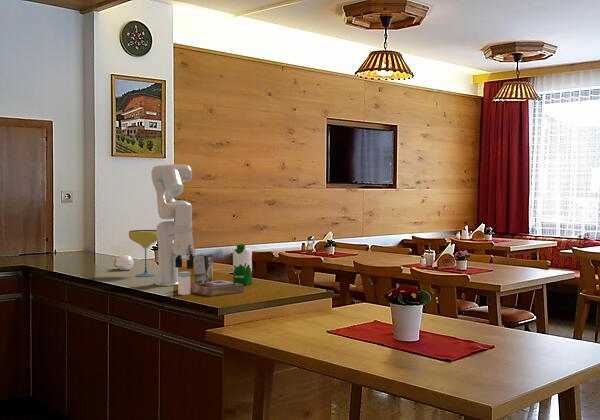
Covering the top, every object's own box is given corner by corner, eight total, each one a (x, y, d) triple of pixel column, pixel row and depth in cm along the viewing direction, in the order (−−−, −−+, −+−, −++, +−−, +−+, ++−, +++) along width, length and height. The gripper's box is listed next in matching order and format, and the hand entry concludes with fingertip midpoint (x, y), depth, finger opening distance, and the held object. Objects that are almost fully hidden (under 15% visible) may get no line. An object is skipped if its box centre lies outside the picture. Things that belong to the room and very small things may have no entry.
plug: (177, 294, 304) (177, 272, 304) (185, 293, 307) (185, 271, 306) (182, 295, 301) (182, 272, 300) (190, 294, 304) (190, 272, 303)
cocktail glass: (143, 273, 384) (142, 229, 383) (169, 274, 376) (168, 230, 375) (122, 276, 367) (121, 231, 367) (148, 278, 360) (148, 232, 359)
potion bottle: (127, 273, 393) (117, 274, 405) (139, 263, 399) (129, 264, 411) (118, 261, 391) (108, 262, 402) (130, 251, 396) (120, 252, 408)
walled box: (191, 292, 308) (191, 284, 308) (223, 288, 320) (223, 281, 320) (210, 296, 296) (210, 288, 296) (243, 292, 308) (243, 284, 308)
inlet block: (205, 290, 309) (205, 282, 309) (221, 288, 315) (221, 280, 315) (216, 292, 303) (216, 284, 303) (233, 290, 309) (232, 282, 309)
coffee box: (207, 289, 317) (206, 255, 317) (194, 289, 319) (193, 255, 318) (213, 286, 326) (213, 253, 326) (200, 286, 328) (200, 253, 327)
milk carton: (230, 285, 331) (230, 245, 331) (238, 283, 340) (238, 243, 339) (247, 286, 328) (246, 245, 328) (254, 283, 337) (254, 244, 336)
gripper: (166, 230, 307) (167, 267, 307) (186, 230, 294) (187, 269, 294) (180, 229, 312) (181, 266, 312) (201, 230, 299) (201, 268, 299)
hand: (184, 268), depth 303 cm, fingers open, 9 cm apart
